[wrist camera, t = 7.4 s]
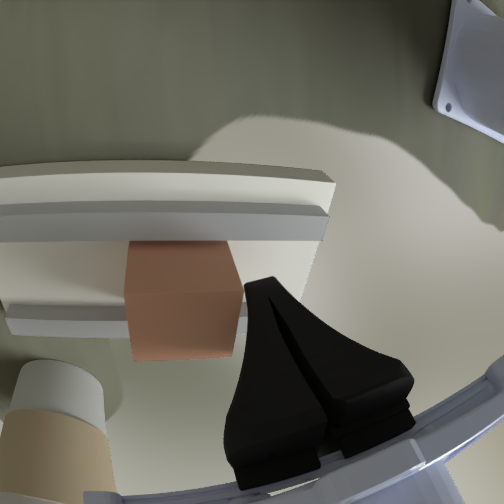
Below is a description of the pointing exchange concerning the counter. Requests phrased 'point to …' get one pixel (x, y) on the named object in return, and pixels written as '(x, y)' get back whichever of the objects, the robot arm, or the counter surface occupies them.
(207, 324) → the switch
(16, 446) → the coffee cup
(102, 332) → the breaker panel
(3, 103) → the counter surface
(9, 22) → the counter surface
